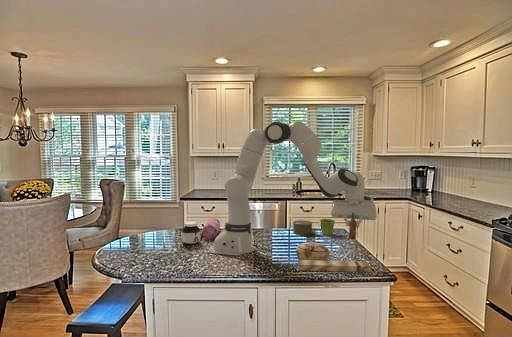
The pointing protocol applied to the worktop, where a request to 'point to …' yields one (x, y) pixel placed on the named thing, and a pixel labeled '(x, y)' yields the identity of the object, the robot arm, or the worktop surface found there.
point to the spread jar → (190, 233)
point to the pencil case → (211, 229)
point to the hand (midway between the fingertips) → (352, 225)
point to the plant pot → (327, 226)
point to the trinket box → (312, 252)
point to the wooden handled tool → (352, 228)
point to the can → (302, 227)
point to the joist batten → (334, 266)
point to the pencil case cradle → (202, 233)
